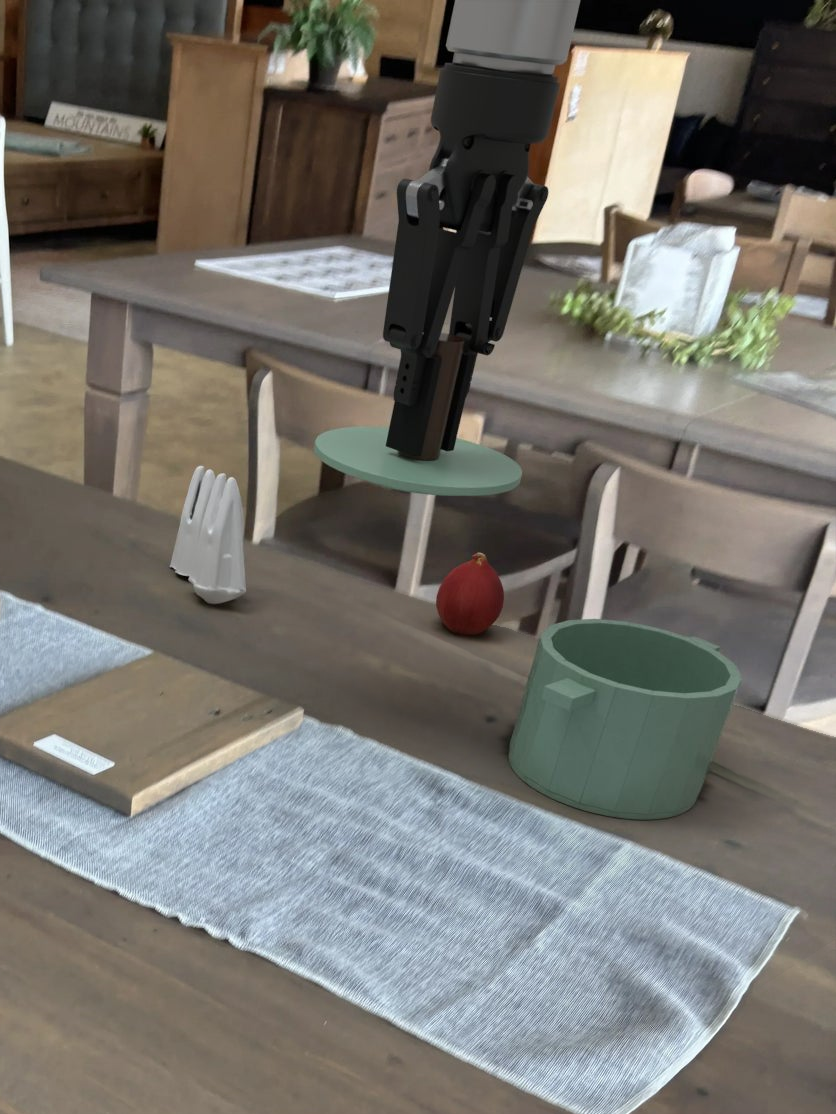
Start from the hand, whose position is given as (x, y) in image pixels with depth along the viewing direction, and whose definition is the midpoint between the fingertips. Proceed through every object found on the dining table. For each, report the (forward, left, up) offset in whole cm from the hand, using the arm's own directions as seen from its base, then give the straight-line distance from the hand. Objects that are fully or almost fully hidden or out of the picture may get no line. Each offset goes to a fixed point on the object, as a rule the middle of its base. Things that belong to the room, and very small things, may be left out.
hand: (419, 447), depth 102 cm
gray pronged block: (+25, -6, -20) cm, 33 cm away
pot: (-18, -7, -20) cm, 28 cm away
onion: (+5, -19, -20) cm, 28 cm away
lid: (0, 0, -1) cm, 1 cm away
